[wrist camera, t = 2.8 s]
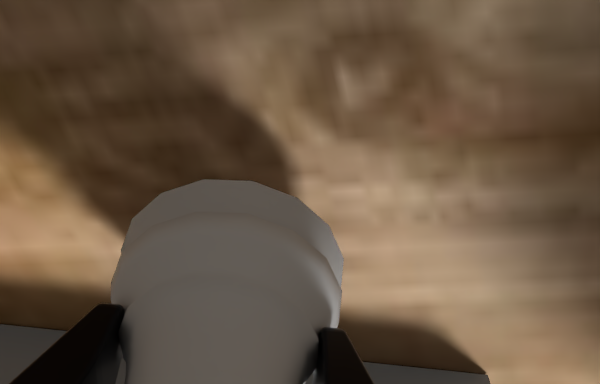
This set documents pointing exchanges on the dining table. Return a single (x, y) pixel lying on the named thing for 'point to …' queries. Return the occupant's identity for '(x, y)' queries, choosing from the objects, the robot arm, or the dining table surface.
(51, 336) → the socket board
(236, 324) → the rook chess piece
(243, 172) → the dining table surface
